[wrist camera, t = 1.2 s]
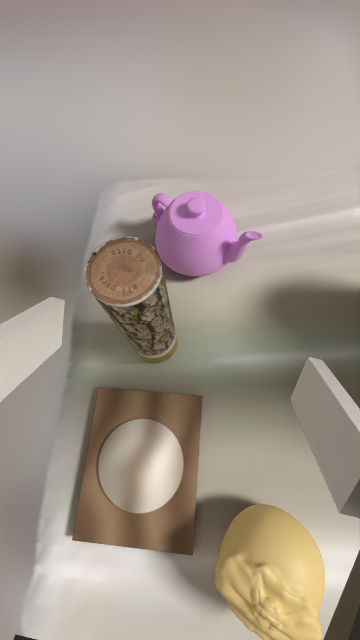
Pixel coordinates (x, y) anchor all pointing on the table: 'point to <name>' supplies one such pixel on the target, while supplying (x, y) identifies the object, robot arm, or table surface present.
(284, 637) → the sculpture
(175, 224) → the teapot
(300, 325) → the table surface
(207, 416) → the table surface
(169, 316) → the paper tube
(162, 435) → the walnut board
